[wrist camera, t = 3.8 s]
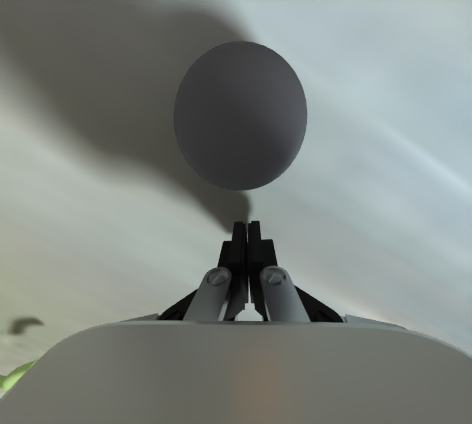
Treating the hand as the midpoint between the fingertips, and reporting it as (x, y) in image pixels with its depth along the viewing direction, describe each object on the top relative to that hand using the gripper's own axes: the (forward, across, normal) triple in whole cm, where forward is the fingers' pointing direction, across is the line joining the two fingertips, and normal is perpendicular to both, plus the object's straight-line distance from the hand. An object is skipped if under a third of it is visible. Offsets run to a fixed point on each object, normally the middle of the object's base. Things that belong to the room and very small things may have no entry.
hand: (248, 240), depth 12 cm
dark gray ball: (-1, 0, -7) cm, 7 cm away
